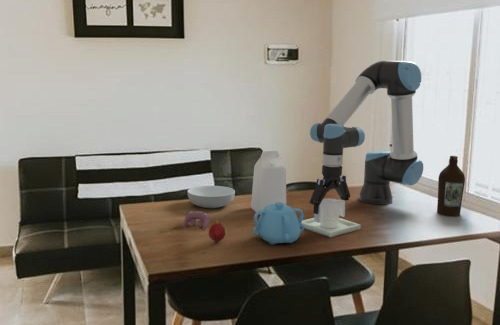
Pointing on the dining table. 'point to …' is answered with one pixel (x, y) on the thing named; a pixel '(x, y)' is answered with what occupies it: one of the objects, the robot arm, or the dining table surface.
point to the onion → (216, 232)
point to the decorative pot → (278, 223)
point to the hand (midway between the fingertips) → (329, 218)
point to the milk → (268, 181)
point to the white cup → (330, 213)
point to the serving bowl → (211, 196)
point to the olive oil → (450, 189)
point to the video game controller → (195, 215)
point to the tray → (342, 228)
